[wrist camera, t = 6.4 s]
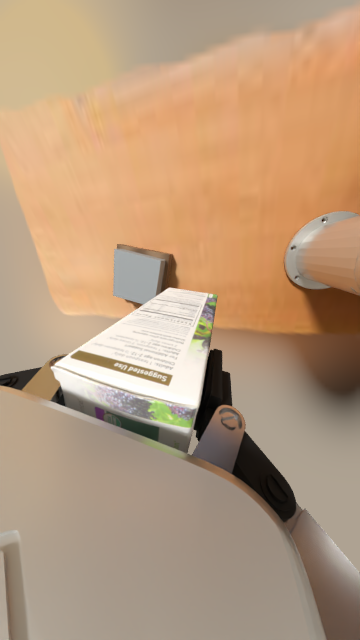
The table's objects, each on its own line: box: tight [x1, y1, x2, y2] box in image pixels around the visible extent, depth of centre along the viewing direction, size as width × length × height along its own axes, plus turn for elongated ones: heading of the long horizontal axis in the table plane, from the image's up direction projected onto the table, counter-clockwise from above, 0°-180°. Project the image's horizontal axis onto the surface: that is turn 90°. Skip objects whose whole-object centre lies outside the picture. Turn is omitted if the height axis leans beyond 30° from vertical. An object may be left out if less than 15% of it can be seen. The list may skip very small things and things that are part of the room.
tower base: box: [117, 244, 172, 293], centre depth 38 cm, size 12×12×3 cm
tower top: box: [113, 249, 166, 305], centre depth 35 cm, size 10×10×3 cm
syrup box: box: [51, 288, 217, 453], centre depth 13 cm, size 6×6×14 cm
